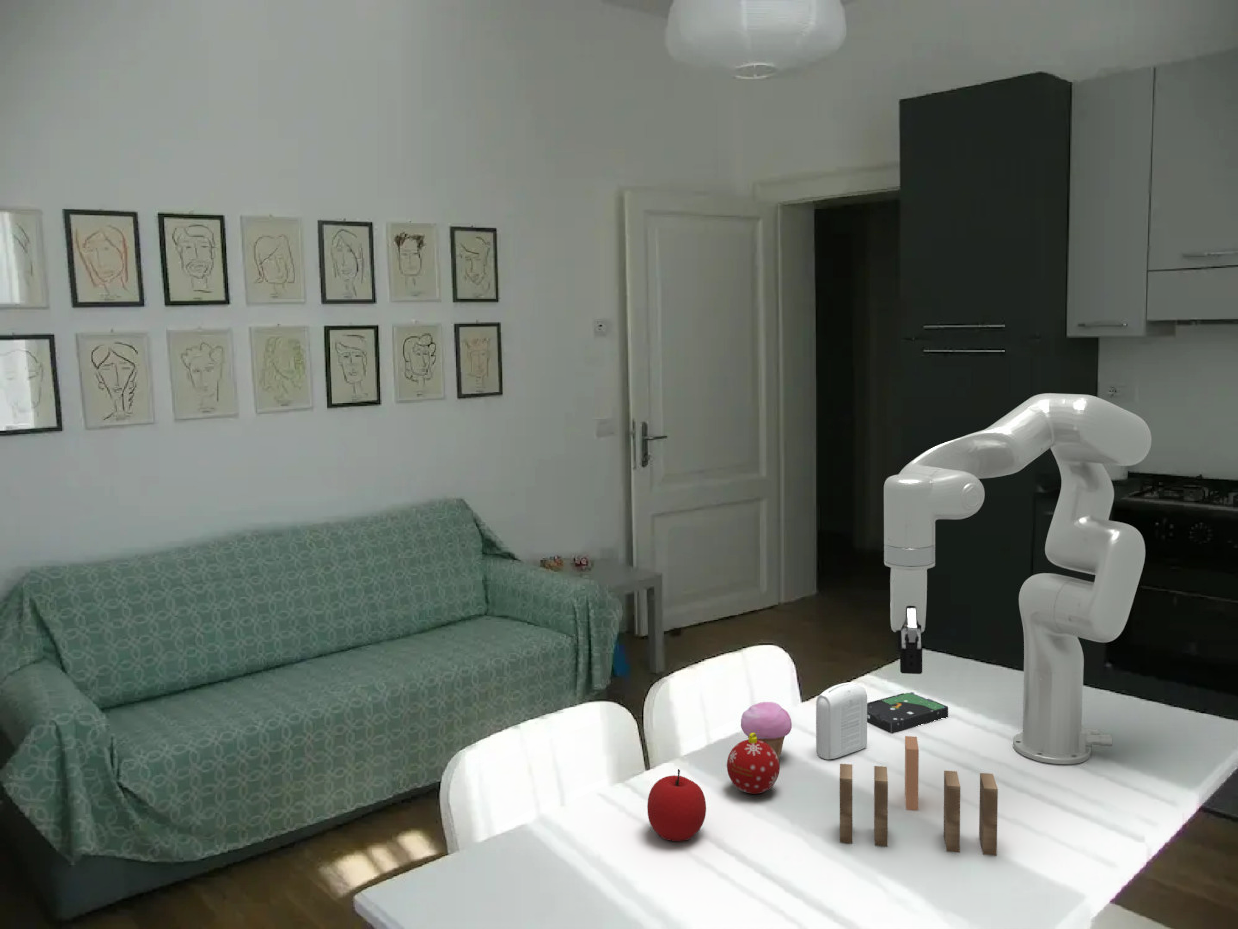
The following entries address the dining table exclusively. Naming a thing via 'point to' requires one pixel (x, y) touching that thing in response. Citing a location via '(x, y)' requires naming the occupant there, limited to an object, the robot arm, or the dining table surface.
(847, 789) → the domino
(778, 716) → the cupcake
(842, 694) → the photo printer
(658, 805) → the apple
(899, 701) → the disk drive
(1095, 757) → the dining table surface
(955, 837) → the domino
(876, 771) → the domino
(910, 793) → the domino
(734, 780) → the christmas ornament
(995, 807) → the domino
